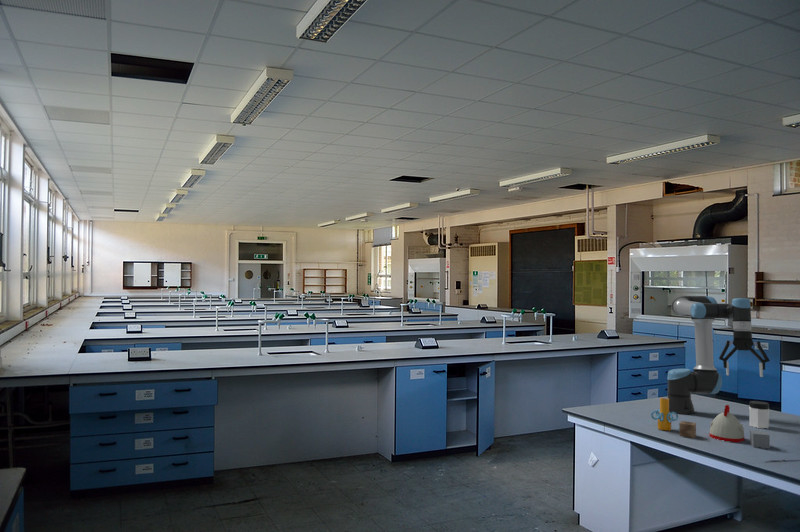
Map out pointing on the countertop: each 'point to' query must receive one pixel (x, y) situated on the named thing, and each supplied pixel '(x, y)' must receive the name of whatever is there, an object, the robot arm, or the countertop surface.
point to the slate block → (759, 439)
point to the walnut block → (687, 429)
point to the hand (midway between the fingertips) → (744, 376)
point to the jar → (759, 414)
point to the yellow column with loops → (664, 415)
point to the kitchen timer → (726, 427)
